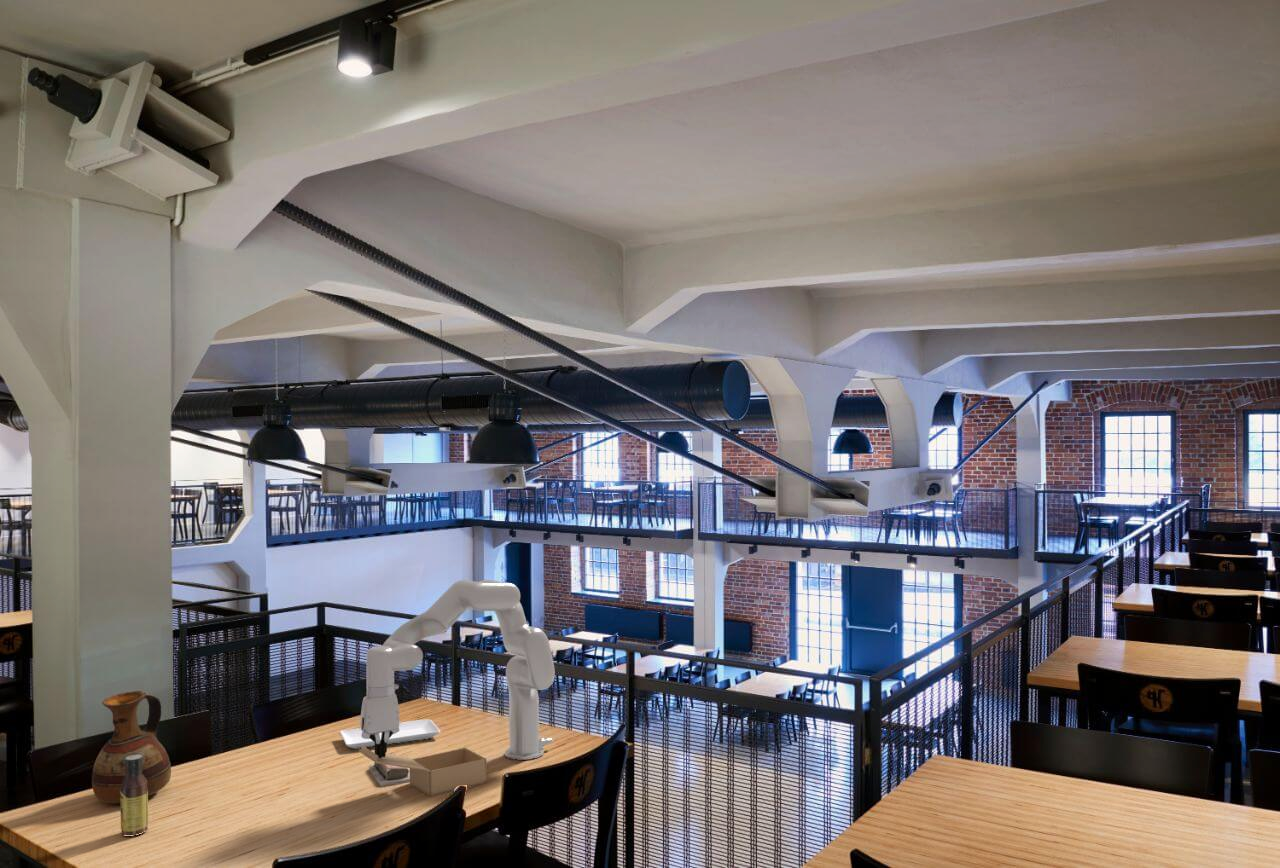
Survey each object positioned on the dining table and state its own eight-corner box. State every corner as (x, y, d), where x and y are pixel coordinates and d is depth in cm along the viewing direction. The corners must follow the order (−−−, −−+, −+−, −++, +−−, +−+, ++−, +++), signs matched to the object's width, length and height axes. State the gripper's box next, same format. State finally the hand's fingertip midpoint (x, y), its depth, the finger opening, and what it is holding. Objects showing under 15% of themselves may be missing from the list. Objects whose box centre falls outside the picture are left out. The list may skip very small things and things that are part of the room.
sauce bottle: (127, 829, 244) (127, 752, 244) (152, 827, 244) (152, 751, 245) (115, 839, 237) (115, 760, 238) (141, 838, 238) (141, 759, 238)
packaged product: (368, 755, 289) (400, 750, 293) (368, 770, 289) (400, 765, 293) (380, 771, 273) (414, 766, 278) (380, 788, 273) (414, 782, 277)
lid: (360, 744, 267) (358, 751, 266) (378, 756, 256) (376, 763, 256) (409, 752, 275) (407, 758, 275) (428, 764, 265) (426, 770, 264)
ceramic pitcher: (75, 804, 262) (75, 697, 263) (136, 781, 281) (136, 681, 282) (127, 812, 255) (127, 703, 256) (186, 788, 274) (186, 685, 275)
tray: (441, 740, 318) (441, 730, 318) (346, 754, 305) (345, 743, 305) (430, 728, 333) (430, 718, 333) (339, 740, 320) (339, 730, 320)
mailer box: (465, 770, 286) (465, 747, 286) (486, 782, 275) (486, 758, 275) (409, 783, 276) (409, 759, 276) (429, 796, 264) (429, 771, 264)
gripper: (400, 684, 271) (400, 747, 271) (349, 692, 262) (350, 758, 262) (410, 689, 265) (411, 754, 265) (359, 698, 256) (359, 765, 256)
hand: (380, 756), depth 263 cm, fingers closed
